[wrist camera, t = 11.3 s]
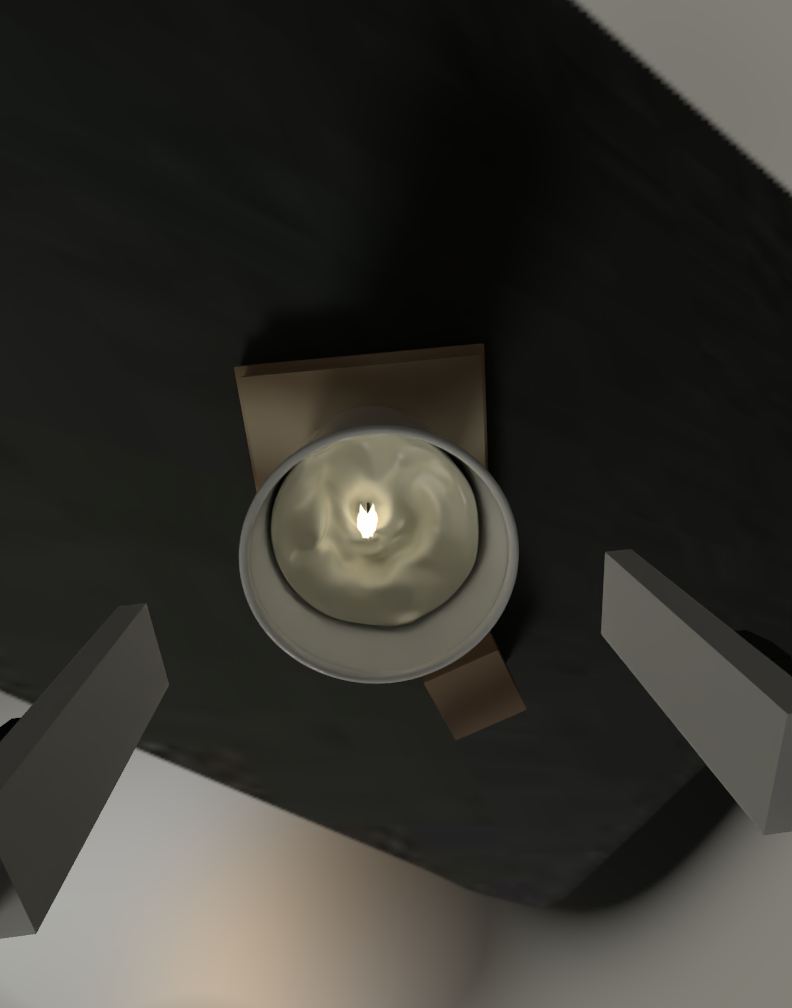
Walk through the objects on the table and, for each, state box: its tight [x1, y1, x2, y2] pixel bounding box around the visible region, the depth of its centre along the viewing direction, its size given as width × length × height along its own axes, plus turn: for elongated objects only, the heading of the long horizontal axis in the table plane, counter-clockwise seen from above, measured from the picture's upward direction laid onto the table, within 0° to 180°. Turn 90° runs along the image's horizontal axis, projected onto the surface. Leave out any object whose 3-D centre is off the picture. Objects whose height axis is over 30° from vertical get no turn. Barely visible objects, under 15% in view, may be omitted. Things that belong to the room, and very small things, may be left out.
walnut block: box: [422, 631, 527, 740], centre depth 34 cm, size 5×5×5 cm
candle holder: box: [239, 405, 519, 683], centre depth 23 cm, size 10×10×12 cm
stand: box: [234, 344, 488, 492], centre depth 31 cm, size 14×14×3 cm
